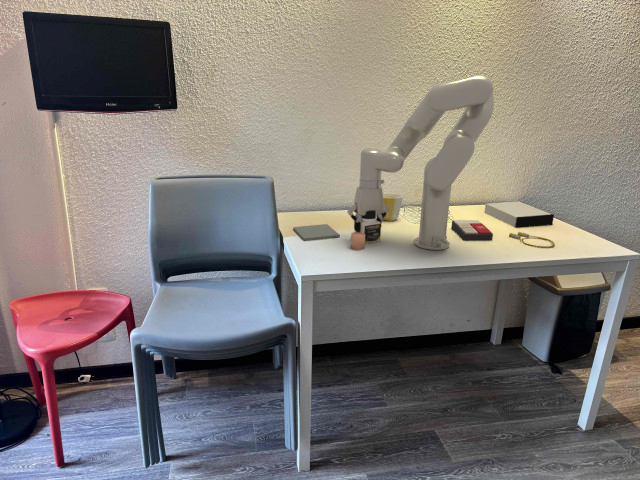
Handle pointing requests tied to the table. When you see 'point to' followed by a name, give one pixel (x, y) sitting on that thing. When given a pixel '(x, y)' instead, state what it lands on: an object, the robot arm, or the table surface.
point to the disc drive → (519, 214)
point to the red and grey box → (471, 230)
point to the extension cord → (529, 238)
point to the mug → (392, 205)
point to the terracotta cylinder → (357, 241)
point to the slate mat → (316, 232)
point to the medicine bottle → (370, 227)
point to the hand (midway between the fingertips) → (367, 230)
